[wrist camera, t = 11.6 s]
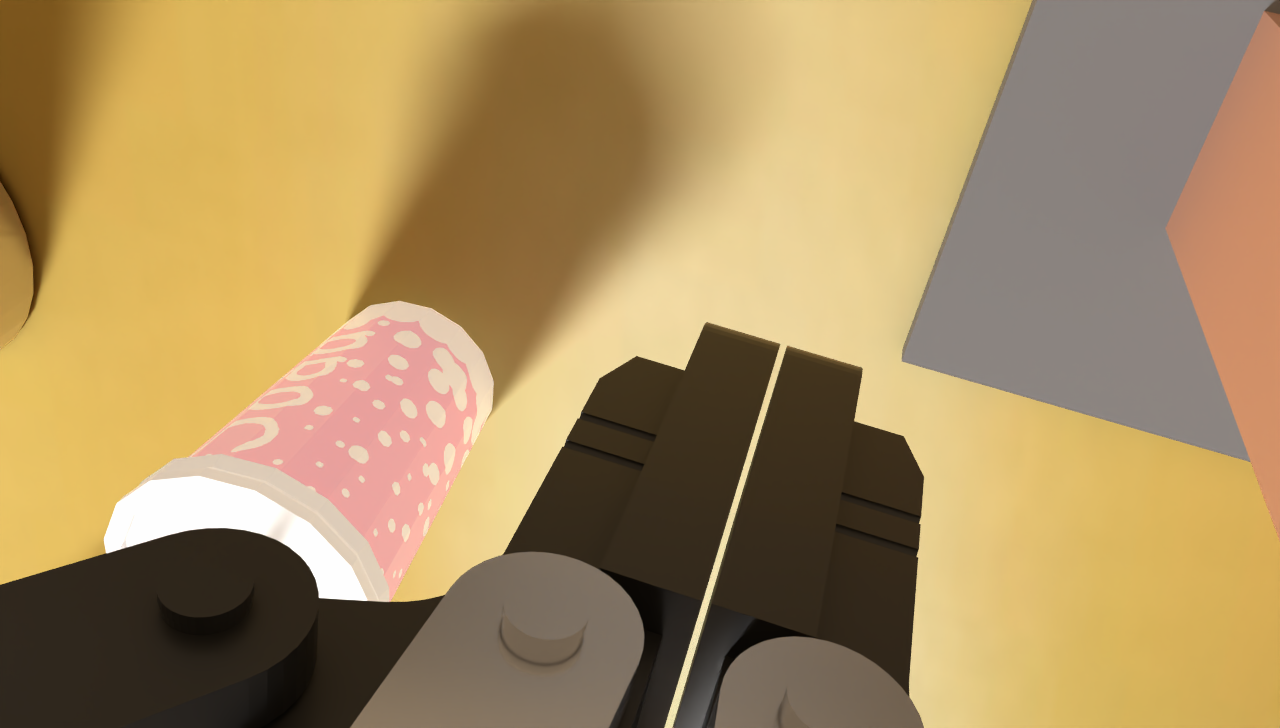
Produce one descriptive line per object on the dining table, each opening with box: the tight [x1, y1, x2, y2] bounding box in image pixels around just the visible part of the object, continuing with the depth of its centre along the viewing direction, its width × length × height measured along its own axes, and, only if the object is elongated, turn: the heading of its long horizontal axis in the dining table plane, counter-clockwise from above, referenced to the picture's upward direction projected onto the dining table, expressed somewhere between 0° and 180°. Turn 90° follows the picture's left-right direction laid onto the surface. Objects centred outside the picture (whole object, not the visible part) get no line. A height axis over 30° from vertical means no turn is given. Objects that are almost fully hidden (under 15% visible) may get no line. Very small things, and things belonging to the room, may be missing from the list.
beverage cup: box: [104, 301, 494, 602], centre depth 25 cm, size 6×6×14 cm
